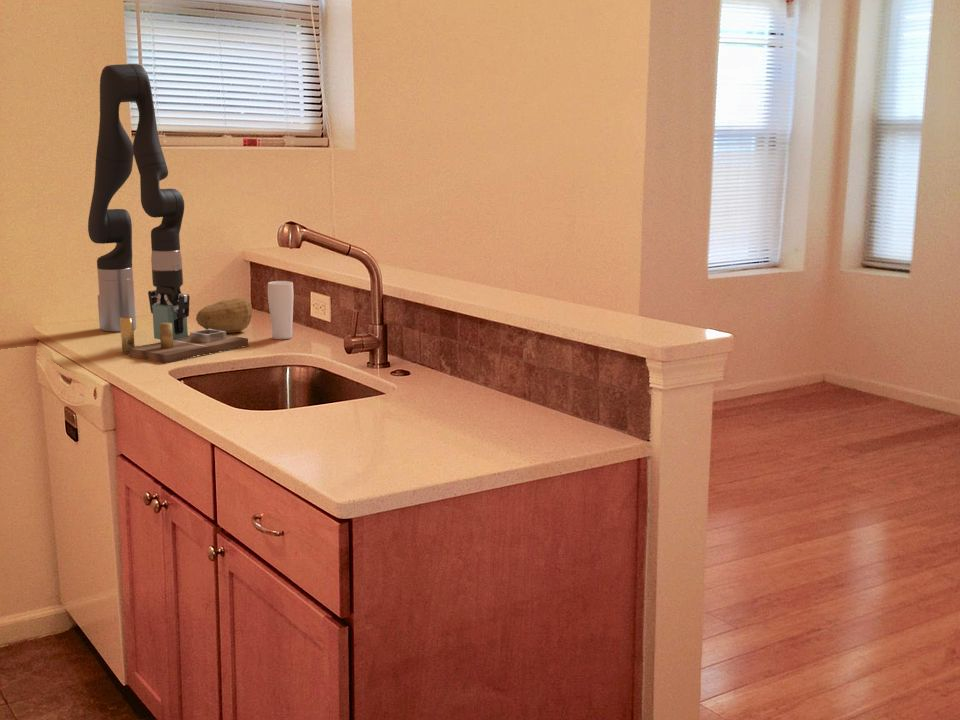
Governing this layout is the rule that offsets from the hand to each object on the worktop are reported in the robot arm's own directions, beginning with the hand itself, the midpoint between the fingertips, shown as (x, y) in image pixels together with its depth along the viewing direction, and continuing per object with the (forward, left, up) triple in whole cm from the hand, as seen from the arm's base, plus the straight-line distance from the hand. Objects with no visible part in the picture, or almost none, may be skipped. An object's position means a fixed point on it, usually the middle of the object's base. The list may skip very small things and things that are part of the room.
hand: (170, 331), depth 280 cm
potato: (-1, +19, -3) cm, 19 cm away
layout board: (+11, -3, -3) cm, 12 cm away
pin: (+1, -14, -3) cm, 14 cm away
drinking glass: (+17, +23, -3) cm, 29 cm away
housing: (0, 0, -2) cm, 2 cm away
